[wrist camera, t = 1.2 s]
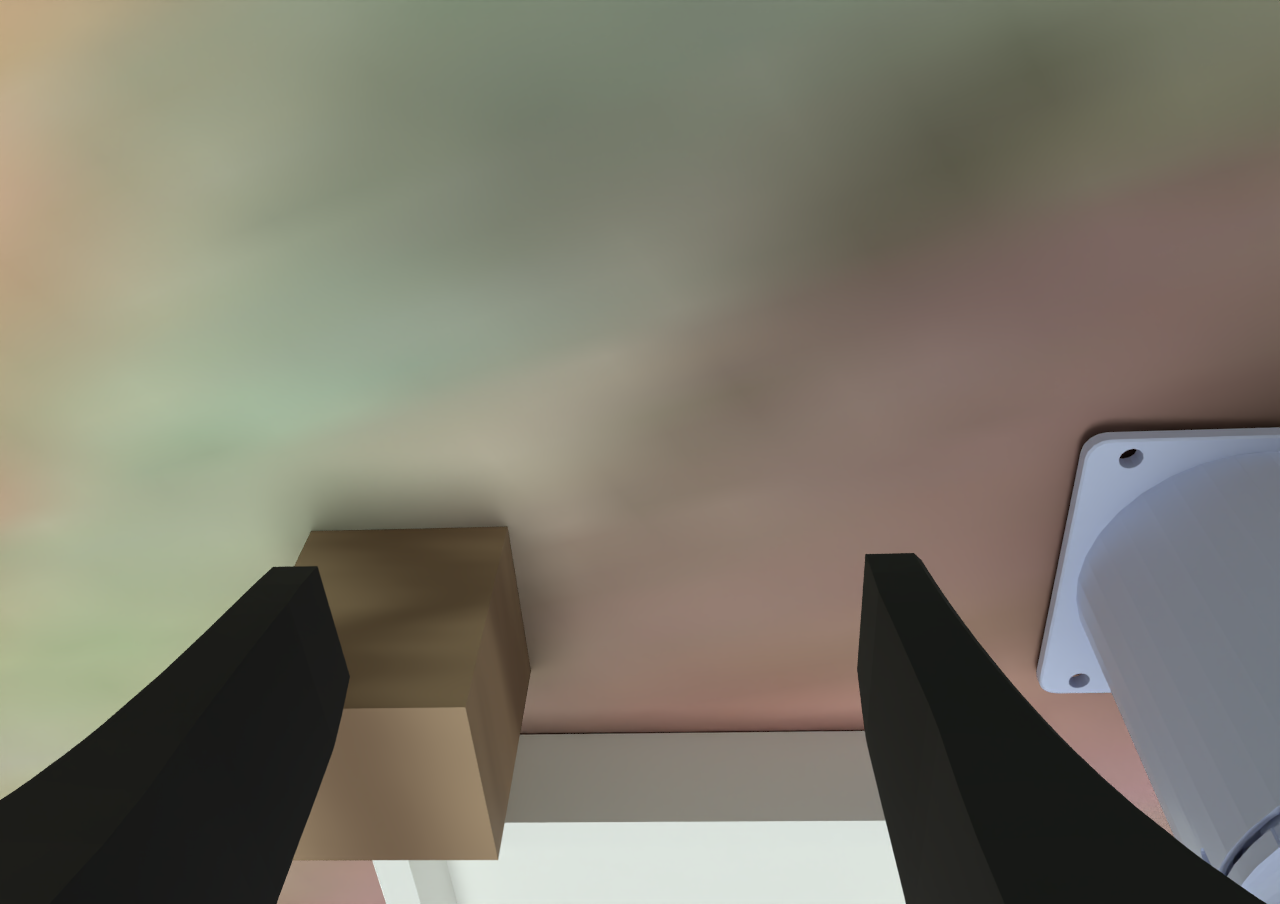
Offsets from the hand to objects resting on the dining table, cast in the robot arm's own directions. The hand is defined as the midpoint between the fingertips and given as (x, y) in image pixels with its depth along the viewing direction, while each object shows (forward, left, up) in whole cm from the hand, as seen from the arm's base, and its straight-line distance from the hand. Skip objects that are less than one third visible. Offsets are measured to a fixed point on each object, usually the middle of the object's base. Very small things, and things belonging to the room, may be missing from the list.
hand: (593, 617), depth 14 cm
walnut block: (+6, +9, -10) cm, 15 cm away
